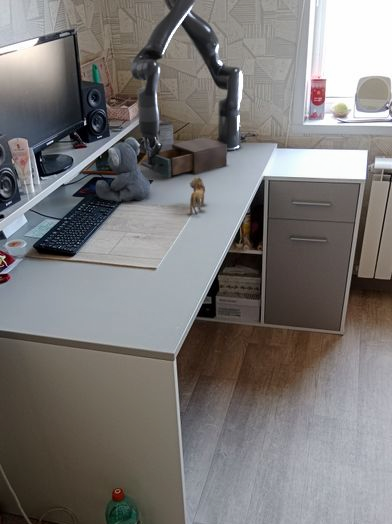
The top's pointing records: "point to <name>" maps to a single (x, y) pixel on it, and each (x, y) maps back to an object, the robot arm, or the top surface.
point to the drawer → (171, 162)
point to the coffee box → (165, 134)
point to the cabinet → (205, 153)
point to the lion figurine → (197, 194)
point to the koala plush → (124, 174)
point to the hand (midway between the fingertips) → (151, 165)
